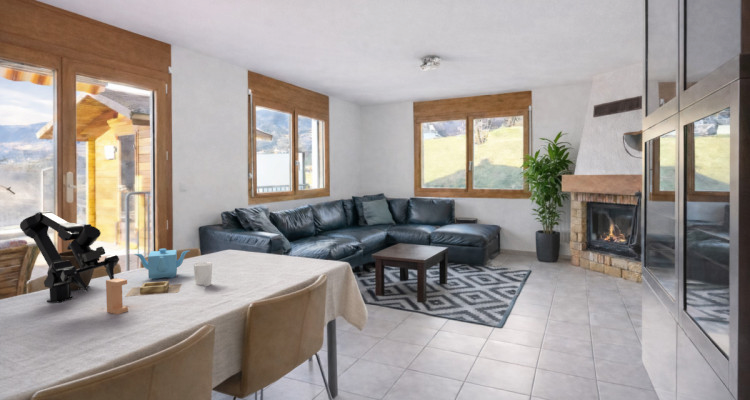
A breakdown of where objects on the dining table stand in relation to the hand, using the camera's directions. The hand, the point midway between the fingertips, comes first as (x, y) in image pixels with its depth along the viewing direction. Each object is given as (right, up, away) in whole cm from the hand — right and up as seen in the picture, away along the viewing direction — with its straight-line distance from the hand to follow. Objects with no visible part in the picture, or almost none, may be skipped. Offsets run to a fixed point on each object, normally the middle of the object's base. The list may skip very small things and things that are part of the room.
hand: (100, 285), depth 155 cm
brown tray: (+9, -7, +22) cm, 25 cm away
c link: (+8, -9, -3) cm, 13 cm away
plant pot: (-29, -7, +28) cm, 41 cm away
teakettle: (0, -6, +45) cm, 46 cm away
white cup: (+25, -7, +34) cm, 43 cm away
